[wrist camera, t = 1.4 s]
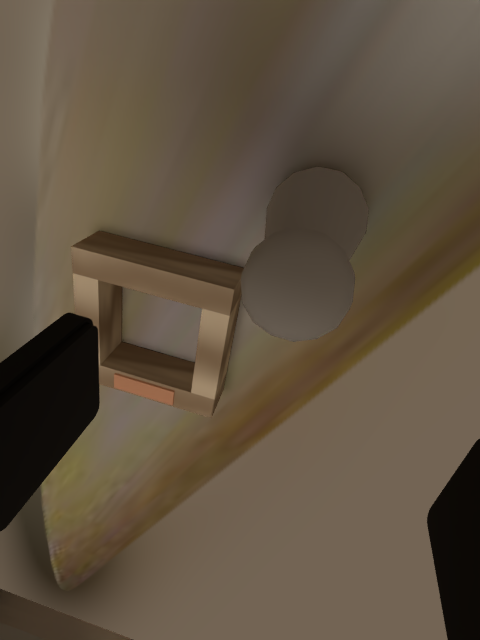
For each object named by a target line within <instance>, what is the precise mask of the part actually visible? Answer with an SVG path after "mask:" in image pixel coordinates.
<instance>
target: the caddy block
mask: <svg viewBox="0 0 480 640" xmlns="http://www.w3.org/2000/svg"><path fill="white" fill-rule="evenodd" d="M71 251H72V267H73V283H74V299H75V314H76V315H80V316H83V317H87V318H90V319H91V320H92V321H93V325H94V326H96V327H97V328H98V347H99V384H101V385H104V386H108V387H111V388H114V389H117V390H121V391H124V392H127V393H131V394H134V395H137V396H140V397H144V398H147V399H150V400H153V401H157V402H160V403H163V404H167V405H170V406H173V407H176V408H180V409H183V410H186V411H189V412H193V413H196V414H199V415H202V416H206V417H209V418H212V415H213V413H214V411H215V408H216V406H217V403H218V401H219V399H220V396H221V394H222V392H223V389H224V383H225V378H226V373H227V368H228V363H229V357H230V352H231V347H232V342H233V336H234V331H235V326H236V321H237V316H238V310H239V305H240V300H241V295H242V292H241V275H242V271H243V269H244V268H242V267H238V266H234V265H230V264H226V263H222V262H218V261H214V260H211V259H207V258H203V257H199V256H195V255H191V254H187V253H183V252H179V251H176V250H172V249H168V248H164V247H160V246H156V245H152V244H148V243H145V242H141V241H137V240H133V239H129V238H125V237H121V236H117V235H114V234H110V233H106V232H102V231H98V232H96V233H94V234H92V235H91V236H89V237H87V238H85V239H83V240H82V241H80V242H78V243H76V244H75V245H73V246H71ZM122 287H125V288H129V289H133V290H136V291H140V292H143V293H147V294H151V295H154V296H158V297H162V298H165V299H169V300H173V301H176V302H180V303H184V304H187V305H191V306H195V307H198V308H202V315H201V323H200V330H199V337H198V345H197V352H196V360H195V363H193V362H189V361H186V360H183V359H179V358H176V357H172V356H169V355H165V354H162V353H158V352H155V351H152V350H148V349H145V348H141V347H138V346H134V345H131V344H127V343H124V342H122Z"/></svg>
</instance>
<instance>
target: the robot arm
mask: <svg viewBox="0 0 480 640" xmlns="http://www.w3.org/2000/svg"><path fill="white" fill-rule="evenodd" d="M98 409H99V347H98V328H97V327H96V326H94V325H93V321H92V320H91V319H90V318H87V317H83V316H80V315H76V314H73V313H66V314H64V315H63V316H62V317H60V318H59V319H58V320H56V321H55V322H54V323H52V324H51V325H50V326H48V327H47V328H46V329H44V330H43V331H42V332H40V333H39V334H38V335H37V336H35V337H34V338H33V339H31V340H30V341H29V342H27V343H26V344H25V345H23V346H22V347H21V348H19V349H18V350H17V351H16V352H14V353H13V354H11V355H10V356H9V357H8V358H7V359H5V360H4V361H2V362H1V363H0V531H2V530H3V529H5V528H6V527H7V526H8V525H9V523H10V522H11V521H12V520H13V518H14V517H15V516H16V515H17V513H18V512H19V511H20V510H21V508H22V507H23V506H24V505H25V503H26V502H27V501H28V500H29V498H30V497H31V496H32V495H33V493H34V492H35V491H36V490H37V488H38V487H39V486H40V485H41V484H42V482H43V481H44V480H45V479H46V477H47V476H48V475H49V474H50V472H51V471H52V470H53V469H54V467H55V466H56V465H57V464H58V462H59V461H60V460H61V459H62V457H63V456H64V455H65V454H66V452H67V451H68V450H69V449H70V447H71V446H72V445H73V444H74V442H75V441H76V440H77V439H78V437H79V436H80V435H81V434H82V432H83V431H84V430H85V429H86V427H87V426H88V425H89V424H90V422H91V421H92V420H93V419H94V417H95V416H96V414H97V412H98ZM427 524H428V531H429V536H430V542H431V548H432V553H433V558H434V565H435V570H436V576H437V582H438V587H439V593H440V598H441V604H442V610H443V615H444V621H445V627H446V632H447V638H448V640H480V439H478V440H477V441H476V443H475V444H474V445H473V447H472V448H471V450H470V451H469V453H468V454H467V456H466V457H465V458H464V460H463V461H462V463H461V464H460V466H459V467H458V469H457V470H456V472H455V473H454V474H453V476H452V477H451V479H450V480H449V482H448V483H447V485H446V486H445V488H444V489H443V490H442V492H441V493H440V495H439V496H438V498H437V499H436V501H435V502H434V504H433V505H432V507H431V508H430V510H429V513H428V518H427ZM0 640H132V639H130V638H128V637H125V636H122V635H120V634H117V633H115V632H112V631H109V630H107V629H104V628H101V627H99V626H96V625H93V624H91V623H88V622H86V621H83V620H81V619H78V618H75V617H73V616H70V615H67V614H65V613H62V612H60V611H57V610H54V609H52V608H49V607H47V606H44V605H41V604H38V603H36V602H33V601H31V600H28V599H25V598H23V597H20V596H17V595H15V594H12V593H10V592H7V591H5V590H2V589H0Z"/></svg>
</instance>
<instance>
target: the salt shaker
mask: <svg viewBox="0 0 480 640" xmlns="http://www.w3.org/2000/svg"><path fill="white" fill-rule="evenodd" d="M368 213H369V208H368V205H367V203H366V201H365V198H364V196H363V194H362V191H361V189H360V187H359V186H358V185H357V184H356V183H354V182H353V181H352V180H351V179H350V178H349V177H348V176H346V175H345V174H344V173H343V172H342V171H338V170H333V169H328V168H323V167H319V166H318V167H314V168H310V169H306V170H302V171H298V172H294V173H293V174H292V175H291V176H290V177H288V178H287V179H286V180H285V181H284V182H283V183H281V184H280V185H279V186H278V187H277V188H276V190H275V192H274V194H273V196H272V198H271V201H270V203H269V205H268V207H267V215H266V230H265V240H264V241H262V242H261V243H260V244H259V245H257V246H256V247H255V248H254V250H253V251H252V252H251V254H250V257H249V259H248V261H247V263H246V265H245V267H244V269H243V271H242V275H241V292H242V303H243V305H244V306H245V308H246V310H247V312H248V314H249V316H250V317H251V319H252V321H253V322H254V323H255V324H257V325H258V326H259V327H261V328H262V329H263V330H265V331H266V332H268V333H269V334H270V335H272V336H276V337H279V338H283V339H286V340H290V341H293V342H295V341H303V340H312V339H318V338H319V337H321V336H323V335H325V334H327V333H328V332H330V331H332V330H334V329H336V328H337V327H338V326H339V324H340V322H341V321H342V319H343V318H344V316H345V315H346V313H347V312H348V310H349V309H350V307H351V304H352V302H353V293H354V284H355V274H354V270H353V268H352V266H351V264H350V262H349V260H350V258H351V257H352V255H353V253H354V252H355V250H356V248H357V246H358V245H359V243H360V241H361V240H362V238H363V236H364V235H365V233H366V229H367V221H368Z"/></svg>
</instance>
